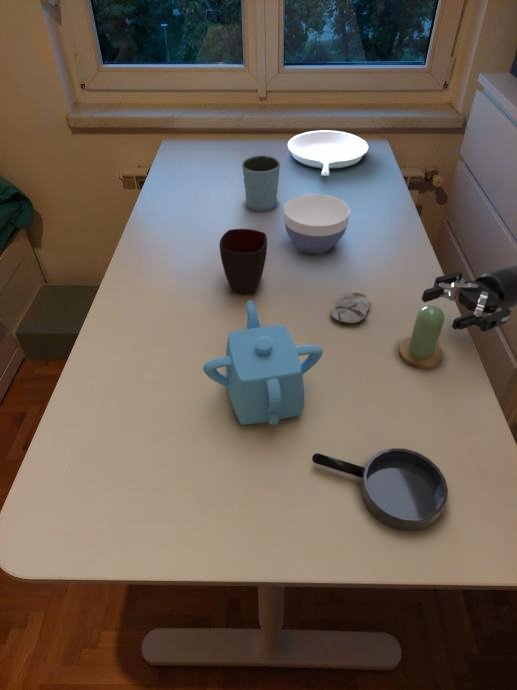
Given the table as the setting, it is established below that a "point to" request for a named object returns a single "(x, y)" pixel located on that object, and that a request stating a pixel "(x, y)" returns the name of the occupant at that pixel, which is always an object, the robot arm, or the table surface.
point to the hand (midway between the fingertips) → (438, 310)
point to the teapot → (263, 371)
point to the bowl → (316, 221)
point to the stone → (351, 308)
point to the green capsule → (426, 332)
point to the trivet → (418, 362)
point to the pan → (327, 149)
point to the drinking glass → (261, 182)
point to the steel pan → (404, 489)
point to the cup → (243, 258)
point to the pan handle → (338, 465)
